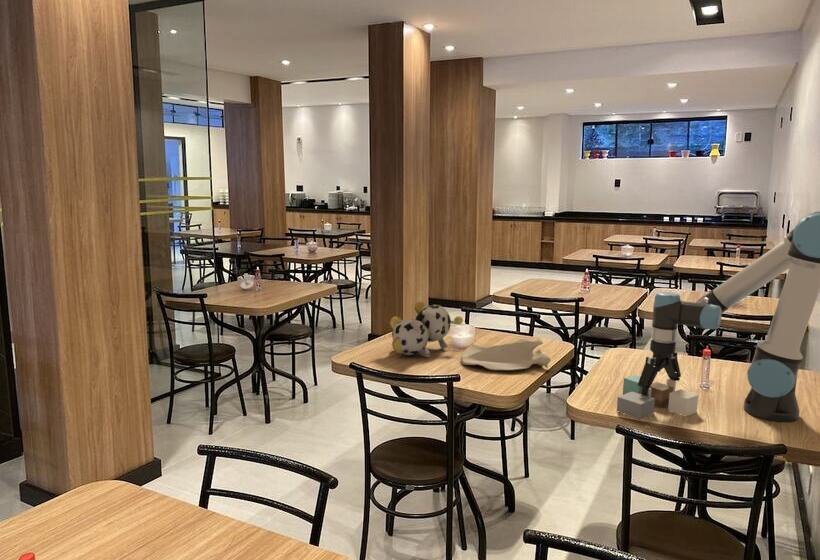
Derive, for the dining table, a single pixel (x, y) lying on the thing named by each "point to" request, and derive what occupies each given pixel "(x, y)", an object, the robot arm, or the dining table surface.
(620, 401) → the platform block
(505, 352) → the beige wavy platter
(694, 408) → the white cube
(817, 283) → the robot arm
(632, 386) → the teal cube
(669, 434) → the dining table surface
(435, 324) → the toy
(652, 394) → the walnut cube
